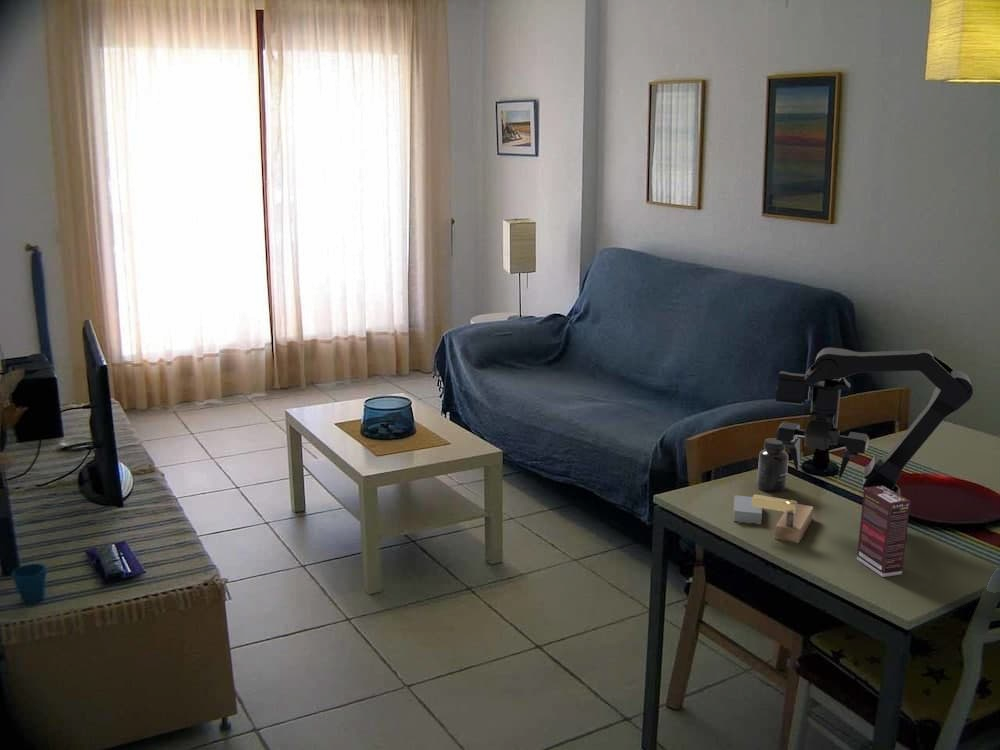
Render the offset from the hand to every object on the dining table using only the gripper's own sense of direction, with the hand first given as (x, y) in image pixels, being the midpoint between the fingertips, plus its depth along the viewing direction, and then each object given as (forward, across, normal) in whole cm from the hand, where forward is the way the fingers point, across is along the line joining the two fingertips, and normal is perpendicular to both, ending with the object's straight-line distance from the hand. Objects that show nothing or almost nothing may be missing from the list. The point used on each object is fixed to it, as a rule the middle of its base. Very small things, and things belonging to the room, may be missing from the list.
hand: (818, 473), depth 213 cm
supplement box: (+11, +16, -17) cm, 26 cm away
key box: (+11, -3, -7) cm, 13 cm away
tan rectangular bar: (+5, -6, -13) cm, 15 cm away
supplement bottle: (+11, -13, +14) cm, 22 cm away
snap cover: (+11, -14, -4) cm, 19 cm away
